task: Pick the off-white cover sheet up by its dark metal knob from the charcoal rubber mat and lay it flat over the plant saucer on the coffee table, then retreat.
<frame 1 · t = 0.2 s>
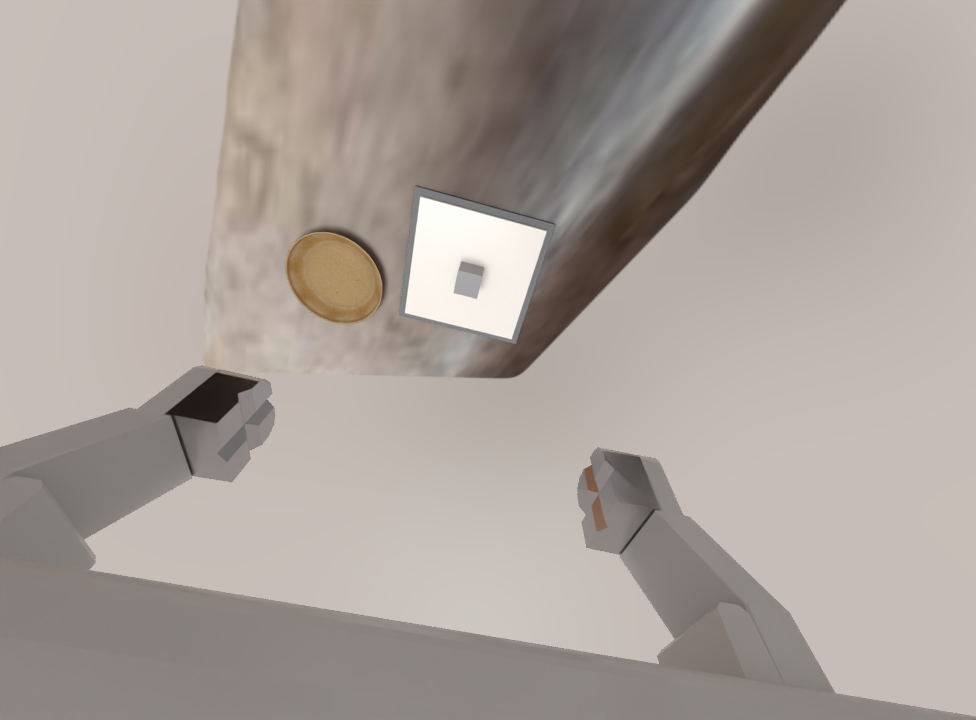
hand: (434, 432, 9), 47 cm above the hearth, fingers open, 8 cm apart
charcoal mat: (471, 272, 56), on the hearth
plant saucer: (341, 275, 58), on the hearth
cover sheet: (470, 273, 55), resting on charcoal mat
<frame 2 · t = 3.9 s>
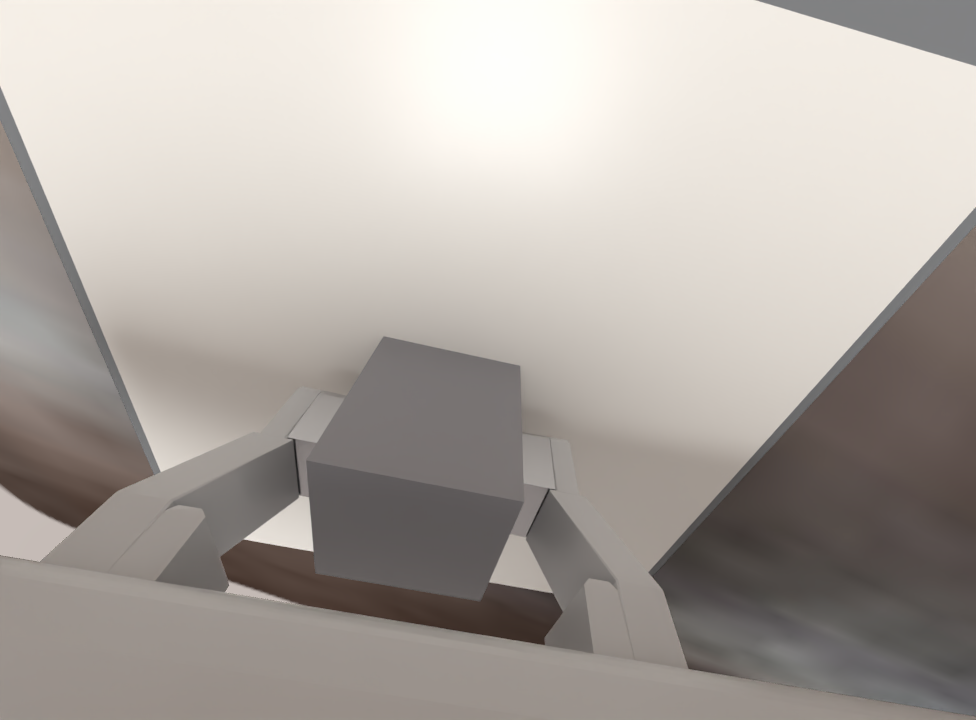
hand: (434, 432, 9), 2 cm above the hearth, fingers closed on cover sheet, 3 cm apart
charcoal mat: (447, 380, 11), on the hearth
cover sheet: (445, 390, 11), resting on charcoal mat, touching gripper
when the fingers open (6 cm above the hearth, at t = 9.9 s): cover sheet drops 2 cm, resting on plant saucer.
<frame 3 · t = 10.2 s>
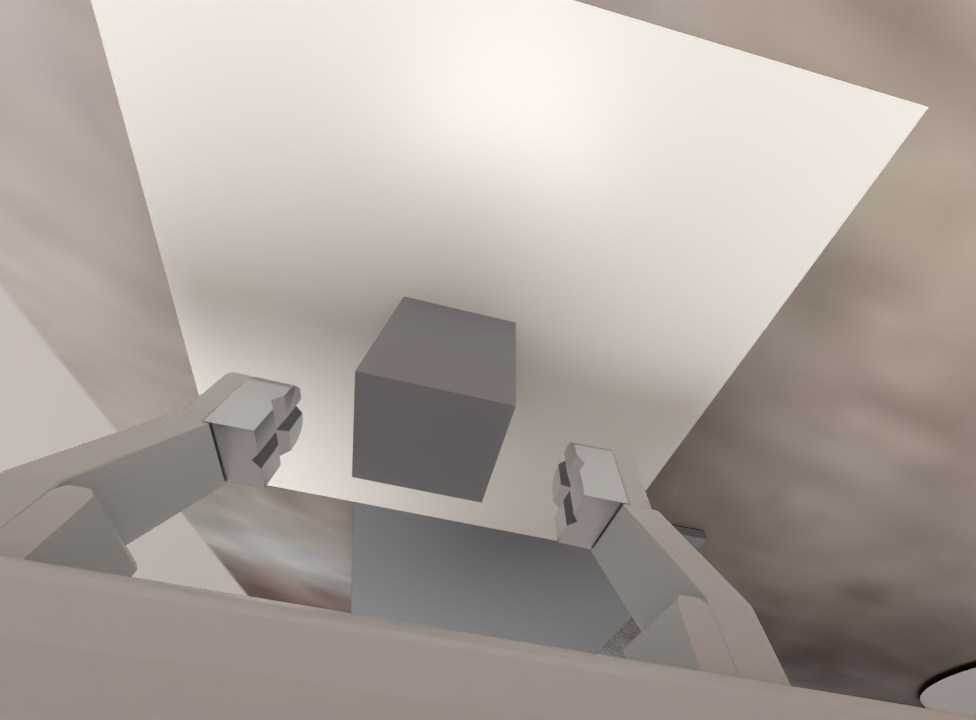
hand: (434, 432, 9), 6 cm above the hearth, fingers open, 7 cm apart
charcoal mat: (496, 585, 26), on the hearth
cover sheet: (453, 347, 13), point 2 cm above the hearth, touching plant saucer
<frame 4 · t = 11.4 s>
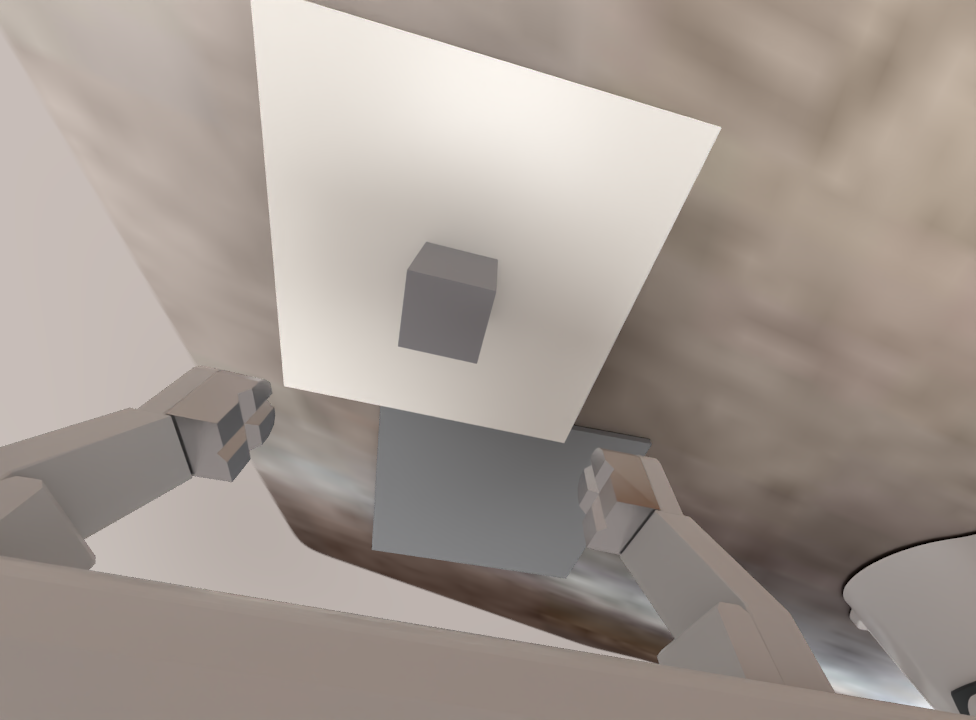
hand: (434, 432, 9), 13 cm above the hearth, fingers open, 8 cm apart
charcoal mat: (491, 499, 32), on the hearth
cover sheet: (456, 280, 19), point 2 cm above the hearth, touching plant saucer
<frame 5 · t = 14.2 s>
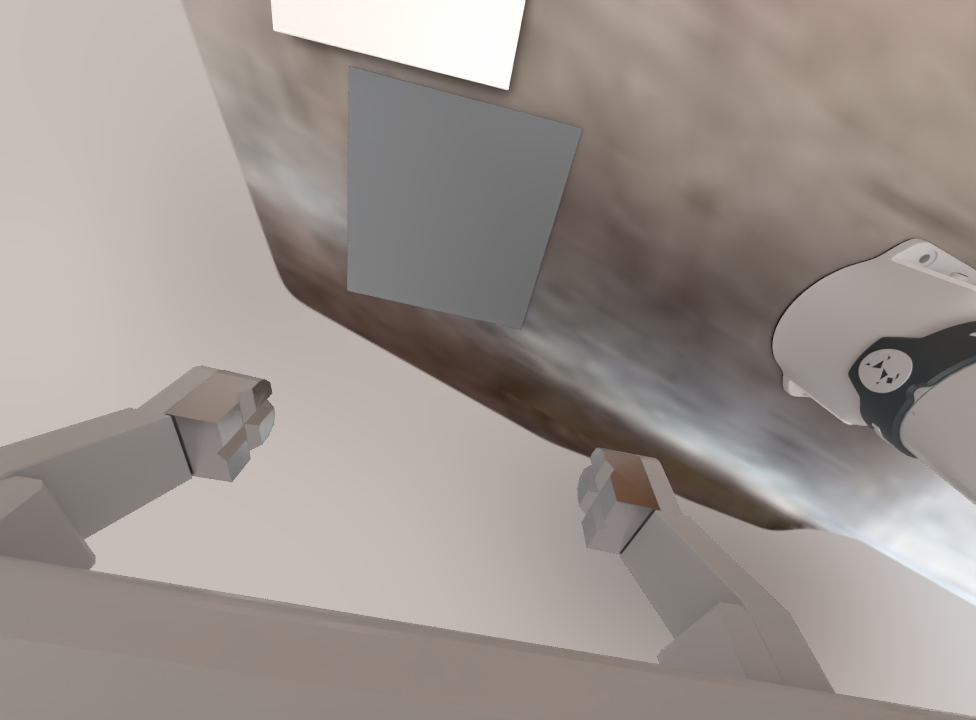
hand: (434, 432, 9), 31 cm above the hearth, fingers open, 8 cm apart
charcoal mat: (450, 219, 36), on the hearth
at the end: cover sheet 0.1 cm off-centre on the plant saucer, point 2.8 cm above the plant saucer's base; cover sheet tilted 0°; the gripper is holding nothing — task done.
